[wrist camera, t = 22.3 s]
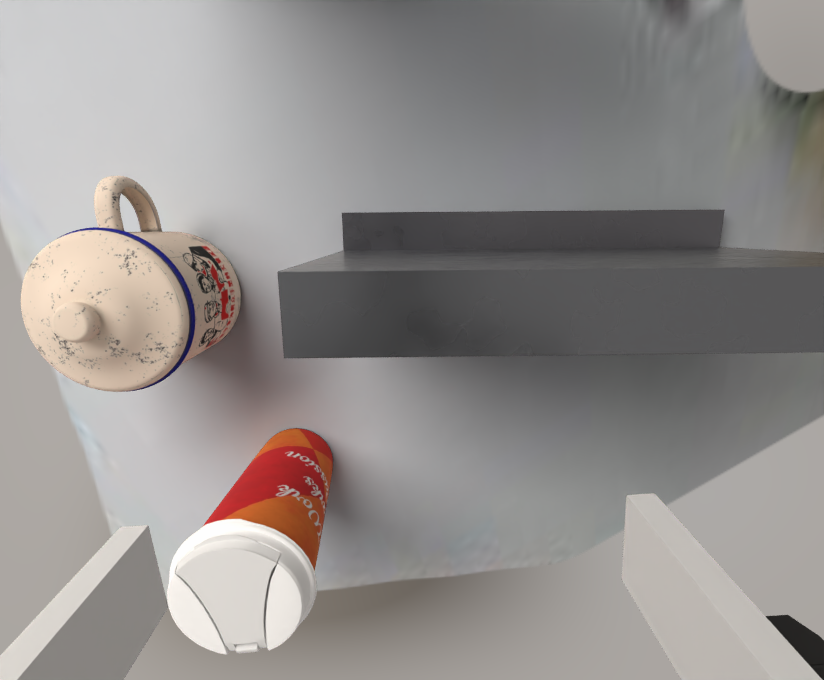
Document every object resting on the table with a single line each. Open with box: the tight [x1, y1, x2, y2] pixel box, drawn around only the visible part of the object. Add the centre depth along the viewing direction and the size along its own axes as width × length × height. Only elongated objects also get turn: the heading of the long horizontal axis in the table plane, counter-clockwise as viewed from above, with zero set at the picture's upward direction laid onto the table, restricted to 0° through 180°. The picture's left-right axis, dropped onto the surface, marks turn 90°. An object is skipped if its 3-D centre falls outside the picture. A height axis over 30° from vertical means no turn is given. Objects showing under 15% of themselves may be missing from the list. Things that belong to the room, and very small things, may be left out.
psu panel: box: [278, 210, 824, 358], centre depth 25 cm, size 8×26×18 cm, turn 91°
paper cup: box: [167, 428, 333, 655], centre depth 30 cm, size 8×8×14 cm
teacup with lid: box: [21, 176, 241, 392], centre depth 28 cm, size 12×9×12 cm
